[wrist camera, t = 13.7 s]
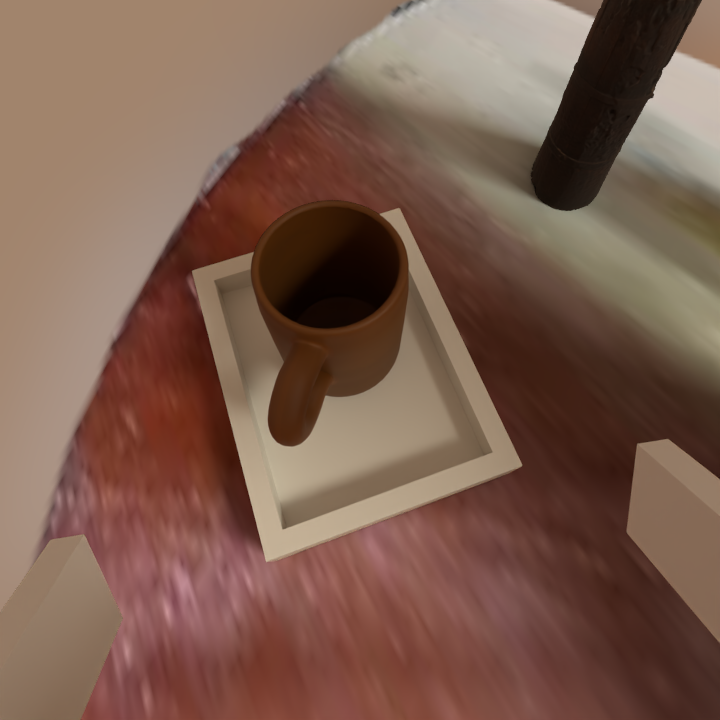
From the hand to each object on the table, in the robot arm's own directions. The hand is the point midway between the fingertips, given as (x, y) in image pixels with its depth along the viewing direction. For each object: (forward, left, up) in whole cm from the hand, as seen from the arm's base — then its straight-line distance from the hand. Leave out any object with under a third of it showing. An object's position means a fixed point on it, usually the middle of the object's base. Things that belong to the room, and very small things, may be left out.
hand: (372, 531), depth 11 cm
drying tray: (-2, -10, -17) cm, 20 cm away
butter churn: (-22, -20, -17) cm, 34 cm away
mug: (-1, -10, -16) cm, 19 cm away
